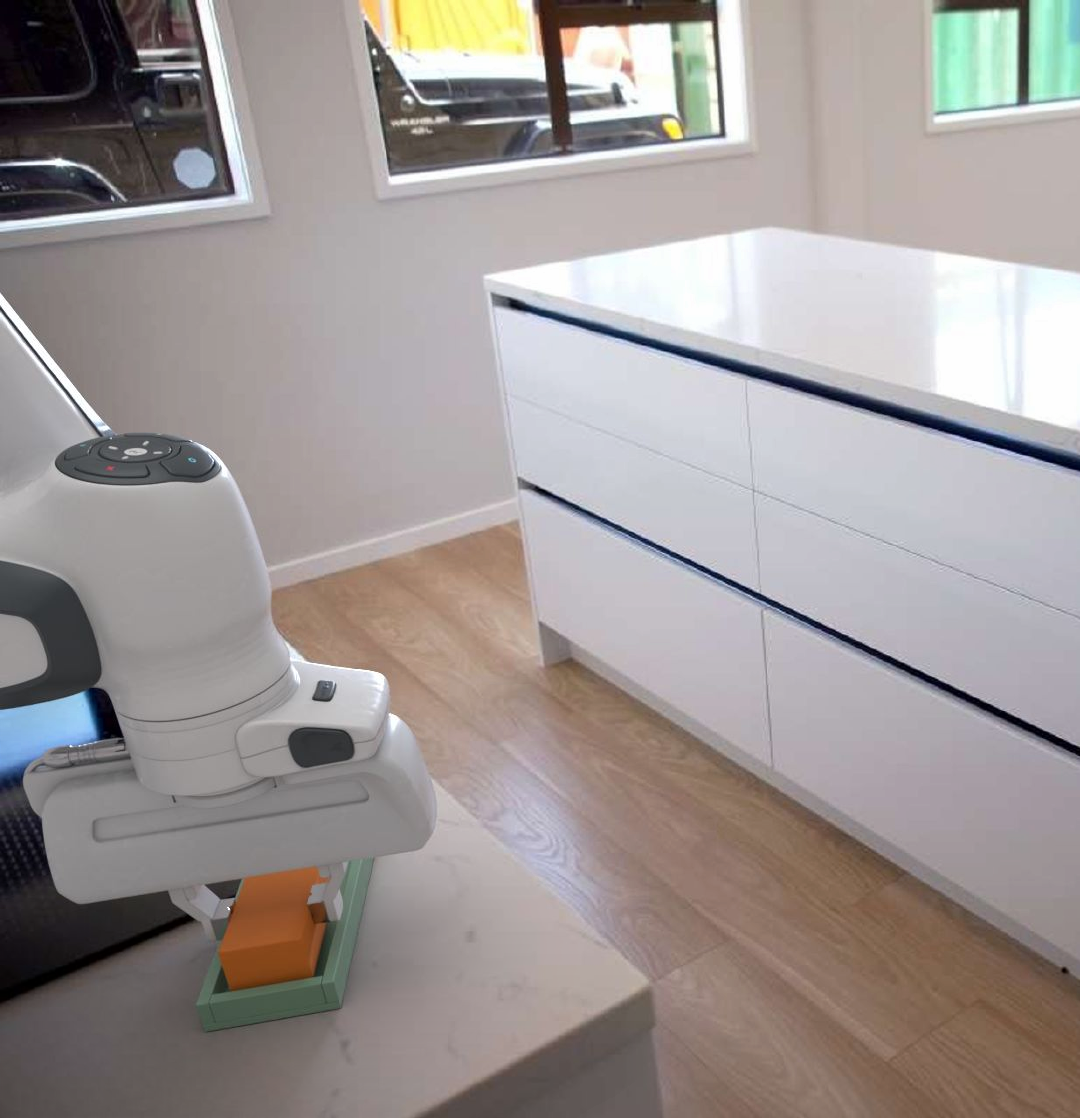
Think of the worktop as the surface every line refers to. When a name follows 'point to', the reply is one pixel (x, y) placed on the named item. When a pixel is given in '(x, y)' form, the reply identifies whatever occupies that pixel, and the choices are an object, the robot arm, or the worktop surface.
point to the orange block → (272, 931)
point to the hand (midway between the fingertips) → (278, 924)
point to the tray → (299, 995)
